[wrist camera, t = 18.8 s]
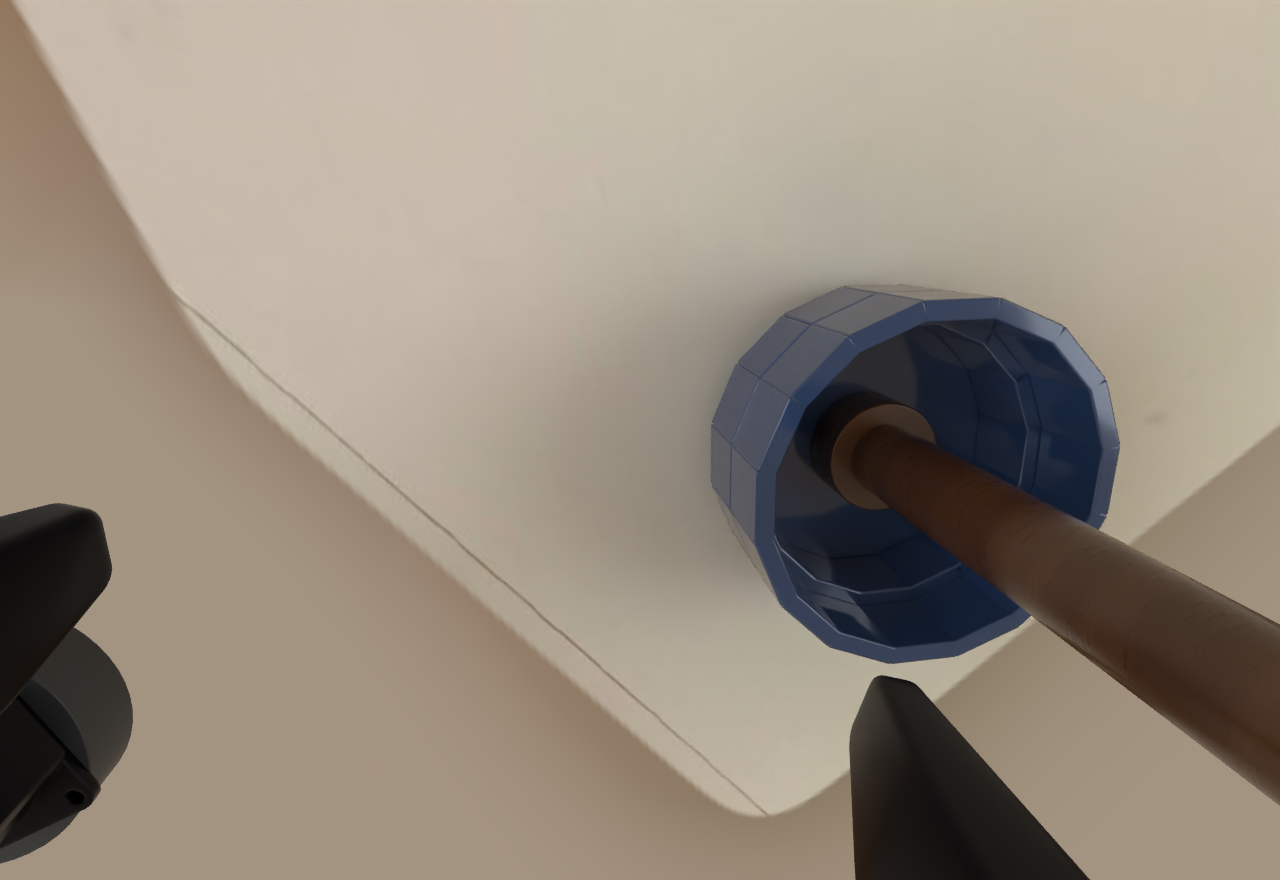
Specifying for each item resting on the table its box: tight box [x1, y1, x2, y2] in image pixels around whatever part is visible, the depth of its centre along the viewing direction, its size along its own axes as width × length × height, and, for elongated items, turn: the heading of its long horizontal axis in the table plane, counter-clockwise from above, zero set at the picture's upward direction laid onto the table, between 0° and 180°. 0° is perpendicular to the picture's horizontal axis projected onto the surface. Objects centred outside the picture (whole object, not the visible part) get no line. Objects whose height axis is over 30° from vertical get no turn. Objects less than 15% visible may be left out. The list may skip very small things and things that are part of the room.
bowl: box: [711, 284, 1120, 664], centre depth 19 cm, size 9×9×5 cm
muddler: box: [811, 392, 1280, 805], centre depth 15 cm, size 3×3×14 cm
